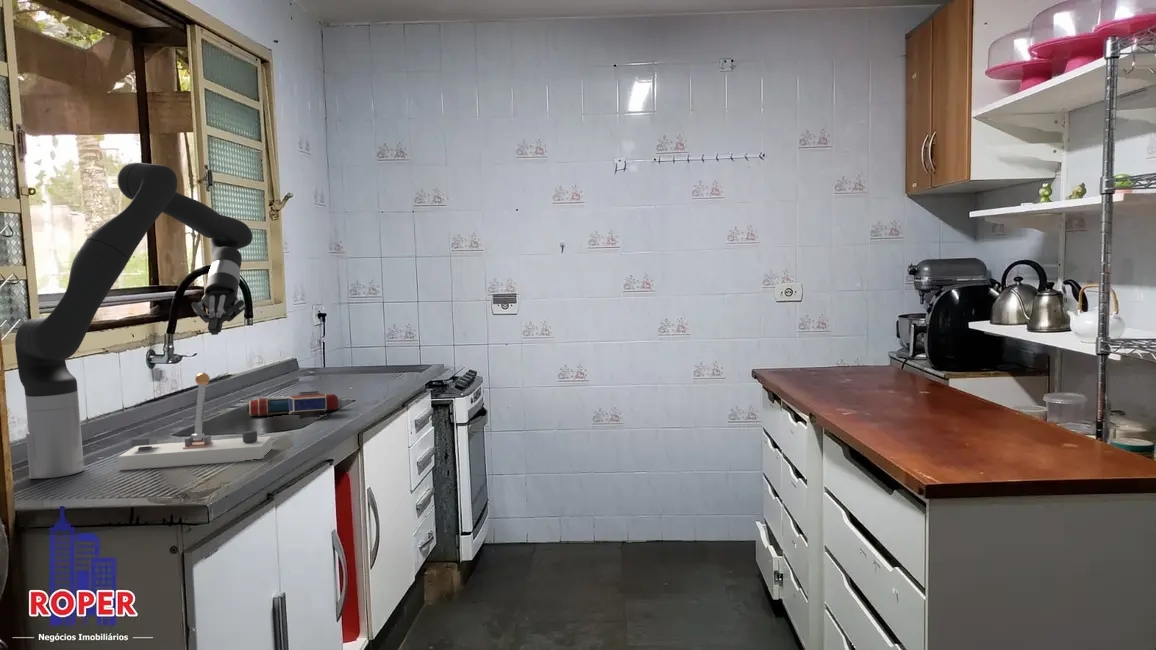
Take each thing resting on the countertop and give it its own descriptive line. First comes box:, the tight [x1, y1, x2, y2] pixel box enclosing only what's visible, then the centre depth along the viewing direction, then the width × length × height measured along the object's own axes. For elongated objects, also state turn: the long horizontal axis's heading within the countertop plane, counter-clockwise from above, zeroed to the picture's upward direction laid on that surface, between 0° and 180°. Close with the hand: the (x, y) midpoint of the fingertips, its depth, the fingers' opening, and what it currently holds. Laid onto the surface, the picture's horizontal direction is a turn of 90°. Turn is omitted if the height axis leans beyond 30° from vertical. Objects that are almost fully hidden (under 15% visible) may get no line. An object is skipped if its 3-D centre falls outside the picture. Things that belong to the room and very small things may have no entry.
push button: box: [242, 430, 258, 442], centre depth 176 cm, size 3×3×2 cm
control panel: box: [117, 434, 273, 471], centre depth 174 cm, size 11×29×5 cm, turn 101°
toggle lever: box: [190, 372, 210, 443], centre depth 177 cm, size 3×3×16 cm
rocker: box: [130, 437, 158, 447], centre depth 172 cm, size 5×4×1 cm
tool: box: [246, 390, 339, 420], centre depth 225 cm, size 8×25×20 cm
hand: (214, 332), depth 190 cm, fingers closed
